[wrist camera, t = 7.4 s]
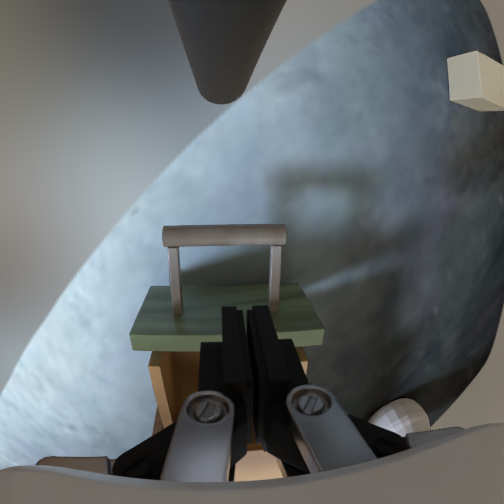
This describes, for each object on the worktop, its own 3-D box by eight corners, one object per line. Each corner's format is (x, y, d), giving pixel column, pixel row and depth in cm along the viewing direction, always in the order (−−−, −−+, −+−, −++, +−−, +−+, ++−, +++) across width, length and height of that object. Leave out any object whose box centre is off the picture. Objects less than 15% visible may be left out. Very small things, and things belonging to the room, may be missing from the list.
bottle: (426, 396, 32) (534, 557, 4) (392, 436, 34) (473, 593, 6) (386, 392, 31) (501, 593, 2) (350, 436, 33) (429, 624, 4)
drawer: (143, 213, 21) (113, 239, 14) (303, 210, 22) (336, 235, 16) (171, 408, 27) (165, 461, 20) (286, 404, 28) (300, 456, 22)
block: (449, 100, 21) (481, 97, 17) (446, 58, 20) (476, 50, 15) (478, 111, 21) (509, 110, 17) (476, 71, 20) (505, 67, 16)
